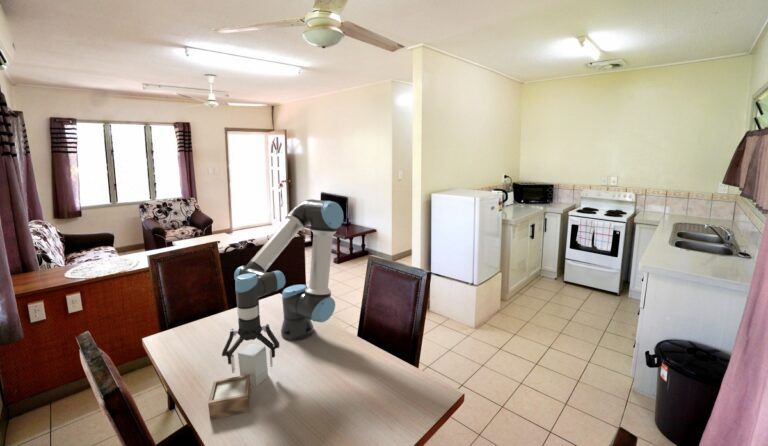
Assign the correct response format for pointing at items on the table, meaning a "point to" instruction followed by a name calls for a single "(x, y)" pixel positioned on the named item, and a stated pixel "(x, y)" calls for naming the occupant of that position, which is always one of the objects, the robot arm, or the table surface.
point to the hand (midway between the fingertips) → (252, 367)
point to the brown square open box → (229, 396)
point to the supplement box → (253, 363)
